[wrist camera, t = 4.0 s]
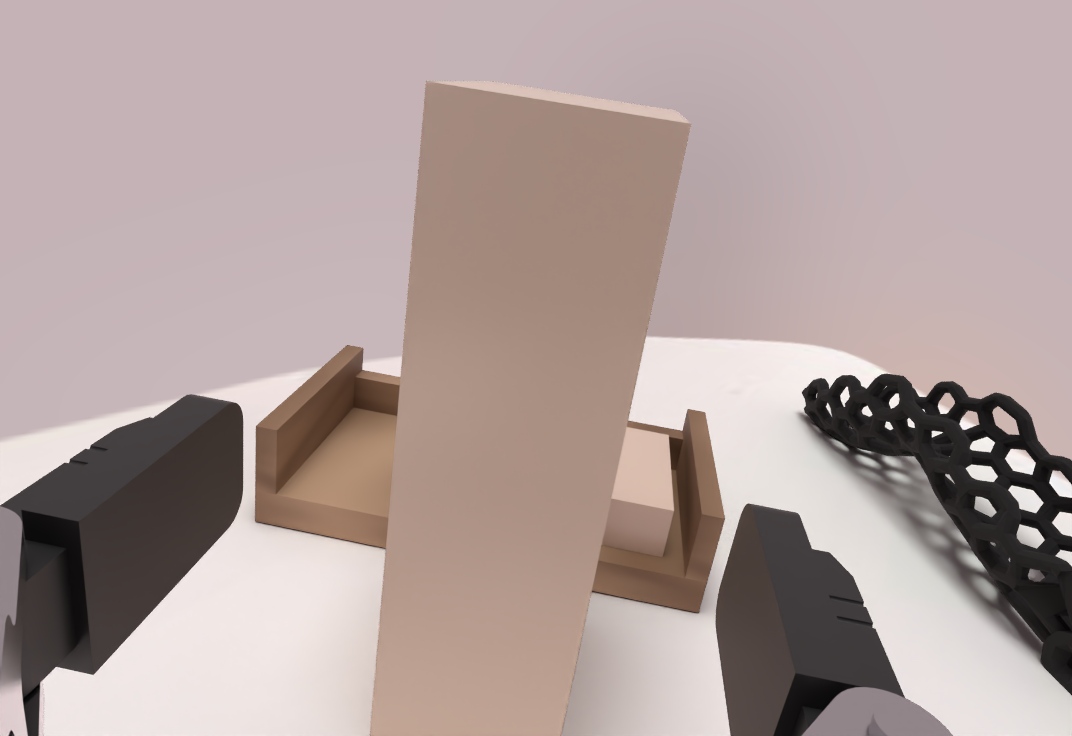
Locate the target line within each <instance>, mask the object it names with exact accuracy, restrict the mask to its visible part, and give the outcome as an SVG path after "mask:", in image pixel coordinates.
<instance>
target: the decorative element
mask: <svg viewBox="0 0 1072 736" xmlns="http://www.w3.org/2000/svg"><path fill="white" fill-rule="evenodd" d="M886 386H887V387H886ZM846 387H848V390H849V395H850V397H849V400H848V401H847V402H846V403H845V407H843V404H842V402H841V400H840V395H841V393H842V392H843V390H844V389H845V388H846ZM885 387H886V388H885ZM884 388H885V389H884ZM896 393H899V398H900V400H899V404H898V405H897V406H896V407H895V408H892V409H891V408H890V405H889V401H890V399H891V398H892V397H893V396H894V395H895V394H896ZM945 393H950V394H951V396H952V397H953V398H954V400H955V404H954V406H953V407H952V408H951V409H950V411H949V412H948V413H947V414H940V412H939V409H938V402H939V401H940V400H941V398H942V397H943V395H944V394H945ZM802 394H803V396H804V398H805V402H806V407H805V408H804V411H805V413H806V414H807V415H808V416H809V417H810V418H811V419H812V420H813V421H814V422H815V423H816V424H817V425H818V426H819V427H820V428H822V429H823V430H824V431H825V432H827V433H828V434H830V435H831V436H833V437H835V438H836V439H838V440H840V441H842V442H844V443H846V444H848V445H850V446H853V447H856V448H859V449H862V450H867V451H873V452H878V453H880V454H883V455H887V456H915V458H916V459H917V461H918V462H919V463H920V465H921V467H922V468H923V470H924V472H925V473H926V475H927V477H928V479H929V482H930V484H931V486H932V489H933V491H934V493H935V495H936V496H937V498H938V499H939V501H940V503H941V504H942V506H943V507H944V509H945V510H946V512H947V513H948V515H949V516H950V517H951V519H952V520H953V522H954V523H955V525H956V526H957V528H958V529H959V530H960V532H961V533H962V535H963V536H964V538H965V539H966V541H967V542H968V544H969V545H970V547H971V549H972V550H973V552H974V553H975V555H976V556H977V558H978V559H979V560H980V562H981V563H982V564H983V566H984V567H985V568H986V570H987V571H988V573H989V574H990V576H991V577H992V578H993V580H994V581H995V583H996V584H997V586H998V587H999V589H1000V590H1001V592H1002V593H1003V595H1004V596H1005V597H1006V599H1007V600H1008V601H1009V602H1010V604H1011V605H1012V606H1013V607H1014V609H1015V610H1016V611H1017V612H1018V613H1019V615H1020V616H1021V617H1022V618H1023V619H1024V621H1025V622H1026V623H1027V624H1028V625H1029V627H1030V628H1031V629H1032V630H1033V632H1034V633H1035V634H1036V635H1037V636H1038V638H1039V639H1040V640H1041V641H1042V642H1043V649H1042V656H1041V661H1042V663H1043V666H1044V668H1045V669H1046V670H1047V671H1048V672H1049V673H1050V674H1051V675H1052V676H1053V677H1054V678H1055V679H1056V680H1057V681H1058V682H1059V683H1060V684H1061V685H1062V686H1063V687H1064V688H1065V689H1066V690H1067V691H1068V692H1069V693H1070V694H1071V695H1072V566H1071V565H1070V564H1069V563H1068V562H1067V561H1064V560H1062V559H1060V558H1058V557H1056V554H1057V553H1058V552H1059V551H1060V550H1065V551H1070V552H1072V537H1071V536H1067V535H1062V534H1061V533H1060V532H1059V530H1058V529H1057V528H1056V527H1055V526H1054V525H1053V524H1052V522H1053V520H1054V519H1055V518H1056V516H1057V515H1058V513H1059V512H1066V513H1072V498H1068V497H1061V496H1059V495H1058V494H1057V493H1056V491H1055V490H1054V489H1053V487H1052V486H1051V485H1050V484H1049V481H1050V477H1051V474H1052V471H1053V470H1055V471H1061V472H1062V473H1063V475H1064V476H1065V477H1066V478H1067V479H1068V481H1069V482H1070V483H1071V484H1072V461H1071V460H1070V459H1068V458H1065V457H1062V456H1054V455H1050V454H1049V453H1048V452H1047V451H1046V449H1045V448H1044V447H1043V446H1042V445H1041V444H1040V442H1039V441H1038V439H1037V435H1036V432H1035V428H1034V425H1033V421H1032V418H1031V416H1030V415H1029V413H1028V412H1027V411H1026V410H1025V409H1024V408H1023V407H1022V406H1021V405H1019V404H1018V403H1017V402H1016V401H1014V399H1012V398H1011V397H1010V396H1006V395H1003V394H1000V393H993V394H991V395H989V396H987V397H985V398H982V399H976V398H970V397H968V395H967V394H966V392H965V391H964V389H963V387H961V386H960V385H958V384H956V383H955V382H953V381H951V382H940V383H938V384H936V385H935V386H934V388H933V389H932V390H931V392H930V393H929V394H928V396H927V397H919V396H918V394H917V392H916V390H915V389H914V388H912V384H911V383H910V382H909V381H908V380H907V379H906V378H905V377H904V376H899V375H892V374H882V375H880V376H878V377H877V378H875V379H874V381H873V382H872V383H871V384H870V385H869V387H868V388H867V389H866V388H864V387H862V386H861V383H860V381H859V380H858V379H857V378H856V377H855V376H852V375H842V376H841V377H839V378H837V379H836V380H835V382H834V383H833V385H832V386H831V387H830V389H829V384H828V383H827V381H826V380H825V379H823V378H819V379H816V380H813V381H812V382H811V383H810V384H809V386H808V387H807V388H805V389H804V390H803V391H802ZM816 394H817V398H816ZM827 402H828V403H829V405H830V408H831V413H832V417H831V415H830V413H829V412H828V410H827V408H826V405H827ZM865 406H868V407H869V409H870V411H871V412H872V414H873V415H872V416H870V417H868V416H866V415H863V414H862V409H863V407H865ZM997 406H999V407H1000V408H1002V409H1003V410H1004V411H1006V412H1007V413H1008V414H1009V415H1010V416H1012V417H1013V418H1014V419H1015V420H1016V422H1017V426H1018V430H1019V434H1020V435H1008V434H1007V433H1005V432H1004V431H1003V430H1002V429H1000V428H999V427H998V426H996V425H995V422H994V417H993V414H992V412H993V409H994V408H996V407H997ZM922 409H924V410H925V412H924V411H923V410H922ZM968 410H969V411H973V412H977V414H978V419H979V425H977V426H974V427H972V428H969V429H967V430H962V428H961V427H960V425H959V423H960V420H961V418H962V417H963V416H964V415H965V413H966V412H967V411H968ZM908 418H910V419H911V420H912V421H913V422H914V423H915V428H911V427H909V426H908V422H907V419H908ZM886 421H887V422H890V423H891V425H892V427H893V428H894V429H892V430H888V429H887V428H885V423H886ZM849 424H850V425H851V426H852V427H853V428H854V429H851V428H850V427H848V425H849ZM932 431H940V432H943V433H942V434H940V435H937V436H935V437H933V438H932ZM984 437H988V438H990V439H991V440H993V441H994V442H995V444H994V446H993V449H992V451H991V453H990V452H981V451H972V450H971V449H970V445H971V443H972V442H973V441H975V440H978V439H981V438H984ZM1010 449H1021V450H1026V451H1027V453H1028V454H1029V455H1030V456H1031V457H1032V459H1033V460H1034V461H1035V462H1036V465H1035V468H1034V472H1033V475H1030V474H1025V473H1021V472H1016V471H1013V470H1012V469H1011V467H1010V466H1009V464H1008V463H1007V461H1006V460H1005V457H1006V456H1007V454H1008V453H1009V451H1010ZM949 456H950V457H949ZM971 464H972V465H982V466H991V467H992V468H993V470H994V471H995V473H996V474H997V476H998V478H997V479H996V480H995V481H994V482H988V481H980V480H976V479H973V478H972V477H971V476H970V475H969V473H968V472H967V470H966V469H965V468H967V467H968V466H970V465H971ZM945 474H949V475H950V476H951V478H952V480H953V481H954V483H955V484H954V483H953V482H952V481H951V480H949V479H948V478H947V477H946V476H945ZM1011 485H1013V486H1018V487H1022V488H1026V489H1031V490H1034V492H1035V493H1036V494H1037V495H1038V496H1039V498H1040V499H1041V500H1042V501H1043V502H1044V503H1043V505H1042V506H1041V507H1040V509H1039V510H1038V512H1037V513H1032V512H1029V511H1025V510H1021V509H1019V504H1018V502H1017V500H1016V499H1015V498H1014V497H1013V496H1012V494H1011V493H1010V492H1009V491H1008V489H1009V488H1010V487H1011ZM976 496H978V497H983V498H985V499H988V500H989V501H990V503H991V504H992V506H993V507H994V509H995V510H996V512H997V513H996V514H995V515H994V516H993V517H992V518H991V517H989V516H987V515H985V514H983V513H981V512H979V511H977V510H975V509H974V505H975V497H976ZM1019 524H1021V525H1025V526H1029V527H1032V528H1036V529H1038V531H1039V532H1040V533H1041V535H1042V536H1043V538H1044V539H1045V541H1044V542H1043V543H1042V544H1041V545H1040V546H1039V547H1038V548H1037V549H1036V548H1033V547H1030V546H1027V545H1024V544H1021V543H1020V542H1019V540H1018V539H1017V535H1016V534H1017V531H1018V527H1019ZM990 542H994V543H995V544H996V546H995V547H994V546H993V545H991V543H990ZM1009 557H1010V562H1009V560H1008V559H1009ZM1030 568H1031V569H1035V570H1040V571H1041V573H1042V574H1043V575H1044V576H1045V578H1044V579H1042V580H1041V581H1040V582H1034V581H1032V580H1030V579H1029V578H1028V573H1029V570H1030Z"/></svg>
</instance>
